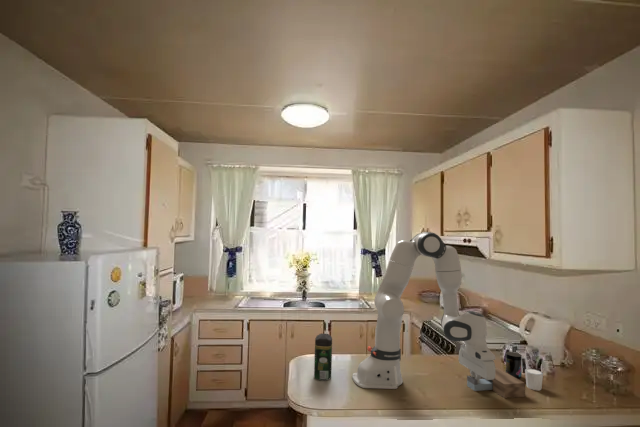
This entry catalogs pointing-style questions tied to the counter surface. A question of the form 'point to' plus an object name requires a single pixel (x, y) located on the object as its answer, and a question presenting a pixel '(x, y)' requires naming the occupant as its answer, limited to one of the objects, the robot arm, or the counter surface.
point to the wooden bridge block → (507, 385)
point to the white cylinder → (534, 379)
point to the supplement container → (514, 364)
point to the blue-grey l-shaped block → (479, 384)
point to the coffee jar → (323, 357)
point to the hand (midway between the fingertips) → (475, 382)
